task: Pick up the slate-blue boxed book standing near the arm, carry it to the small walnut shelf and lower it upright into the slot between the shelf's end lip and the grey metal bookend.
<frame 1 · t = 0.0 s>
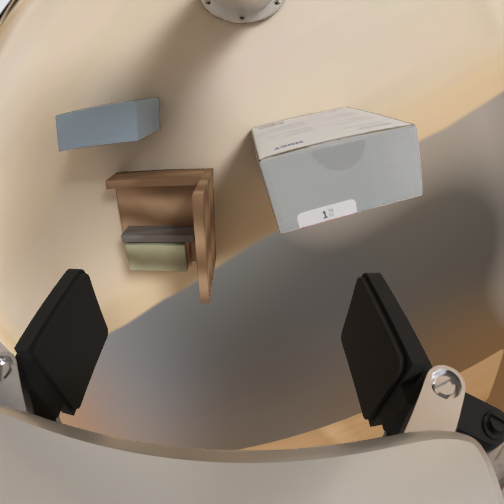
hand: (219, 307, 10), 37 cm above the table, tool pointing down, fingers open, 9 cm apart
shelf: (166, 216, 48), on the table
hard drive box: (306, 138, 42), on the table
book: (123, 117, 39), on the table
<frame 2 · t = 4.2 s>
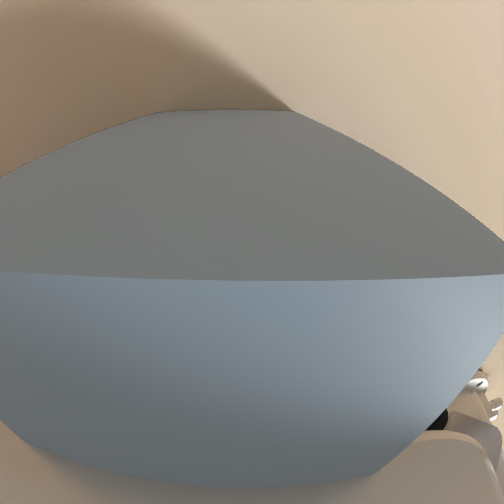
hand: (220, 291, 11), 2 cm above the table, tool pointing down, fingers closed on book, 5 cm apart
book: (225, 254, 13), on the table, touching gripper
when the fingers open (5 cm above the table, at t = 9.7 s): book drops 2 cm, resting on shelf.
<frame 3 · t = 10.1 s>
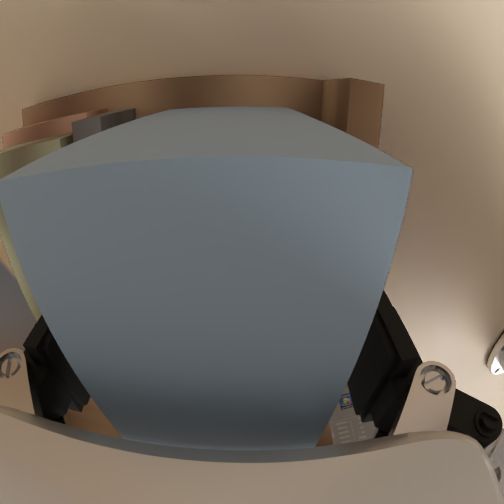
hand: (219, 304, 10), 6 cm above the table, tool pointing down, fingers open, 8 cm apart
shelf: (175, 235, 15), on the table
hard drive box: (330, 419, 27), on the table
book: (229, 233, 14), point 1 cm above the table, touching shelf
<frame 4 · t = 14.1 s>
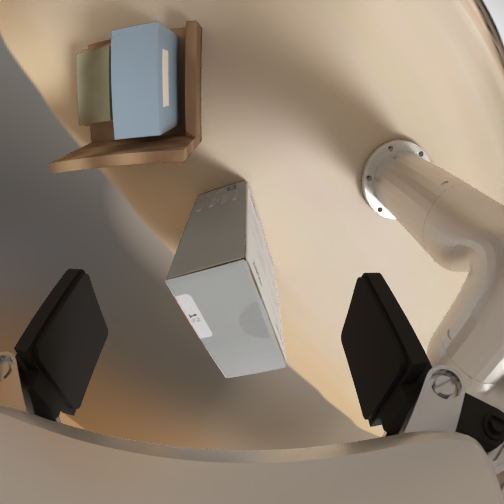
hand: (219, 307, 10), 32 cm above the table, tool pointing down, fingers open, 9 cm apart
shelf: (142, 88, 33), on the table
hard drive box: (238, 232, 45), on the table
book: (160, 81, 32), point 1 cm above the table, touching shelf
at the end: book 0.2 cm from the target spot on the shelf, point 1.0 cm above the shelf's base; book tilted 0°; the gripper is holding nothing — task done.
